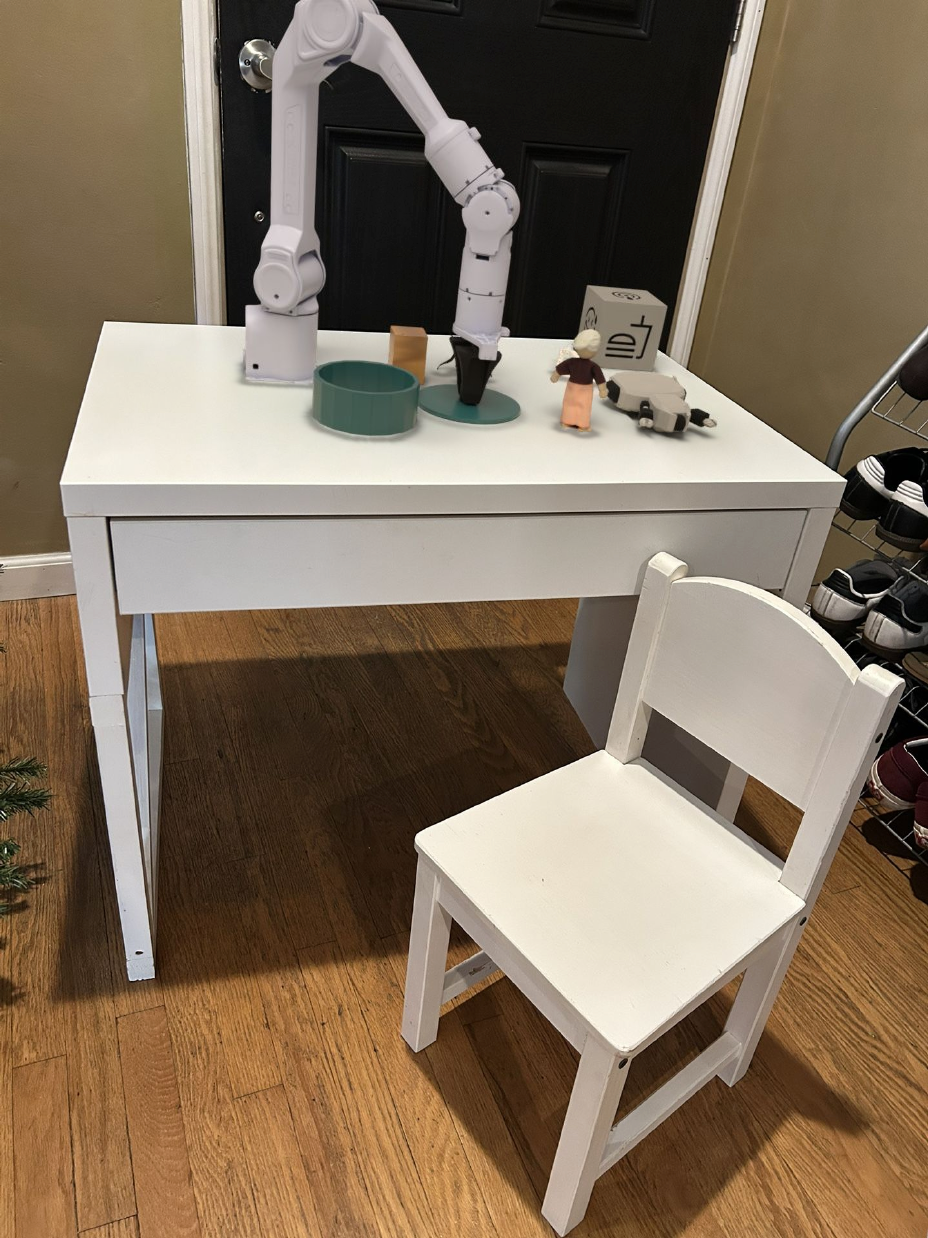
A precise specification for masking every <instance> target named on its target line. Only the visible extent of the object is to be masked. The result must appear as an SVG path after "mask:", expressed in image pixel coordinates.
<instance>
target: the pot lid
mask: <svg viewBox="0 0 928 1238" xmlns="http://www.w3.org/2000/svg"><path fill="white" fill-rule="evenodd" d="M418 408H421V409H422V410H423V411H425V412H427V413H429V414H432V415H434V416H436V417H439V418H442V419H444V420H448V421H449V420H450V421H455V422H460V423H466V424H476V425H493V424H495V425H496V424H502V423H503V424H504V423H507V422H511V421H513V420H515V419H516V418H518V417H519V416H520V414H521V405H520V403H519V402H518V401H517V400H515V398H513V397H511V396H509V395H507V394H505V393H503V392H500V391H497V390H494V389H490V388H487V387H485V390H484V393H483V396H482V398H481V401H480V403H479V404H465V403H463V400H462V389H460V395H459V393H458V387H457V383H444V384H434V385H428V386H426V387H422V388H420V390H419V400H418Z"/></svg>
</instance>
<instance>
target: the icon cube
mask: <svg viewBox="0 0 928 1238" xmlns="http://www.w3.org/2000/svg"><path fill="white" fill-rule="evenodd" d="M667 310H668V305H666V304H665V303H664V302H662V301H661V300H660V299H658V298H657V297H656V296H654V295H653V294H652V293H650V292H649V291H648V290H643V289H634V288H633V289H632V288H622V287H611V286H610V287H609V286H599V285H586V290H585V294H584V300H583V307H582V312H581V317H580V323H579V328H578V334H579V333H580V332H583V331H584V330H588V329H592V330H595V331H597V332H598V333H599V334H600V337H601V339H600V342H601V343H600V344H599V347H598V350H597V353H596V355H595V356H594V357H593V358H591V359H589V360H591V361H593V362H595V363H596V364H598V365H599V366H600V368H601V369H616V370H617V369H618V370H628V371H629V370H630V371H641V372H654V367H655V364H656V360H657V354H658V351H659V346H660V341H661V338H662V334H663V333H662V332H663V328H664V324H665V320H666V315H667Z"/></svg>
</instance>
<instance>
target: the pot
mask: <svg viewBox="0 0 928 1238" xmlns="http://www.w3.org/2000/svg"><path fill="white" fill-rule="evenodd" d="M312 382H313V383H312V400H311V402H312V403H311V415H312V418H313V419H314V420H315V421H316V422H318V423H319V424H320V425H322V426H325V427H327V428H329V429H331V430H334V431H338V432H341V433H342V432H343V433H346V434H351V435H356V436H357V435H358V436H369V437H375V436H379V437H381V436H382V437H383V436H392V435H393V436H394V435H398V434H403V433H406V432H408V431H410V430H412V429H414V427H415V426H416V424H417V421H418V409H419V405H418V400H419V390H421V385H420V381H419V379H418V377H417V376H416V375H414V374H413V373H411V372H410V371H408V370H405V369H402V368H400V367H397V366H393V365H389V364H388V363H385V362H378V361H371V360H360V359H358V360H356V359H353V360H352V359H351V360H350V359H344V360H336V361H335V360H334V361H328V362H325V363H322V364H319V365H317V368H316V369H315V370H314V371H313V381H312Z"/></svg>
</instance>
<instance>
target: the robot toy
mask: <svg viewBox="0 0 928 1238" xmlns="http://www.w3.org/2000/svg"><path fill="white" fill-rule="evenodd" d="M606 392H607V397H606V398H608V399H609V400H610V401H611V402H612V403H613V404H614V405H615V406H616V408H617V409H620V410H622V411H623V412H627V413H630V412H636V413H638V415H637V416H638V418H637V421H638V423H637V424H638V426H640V427H643V428H650V429H651V428H653V429H654V431H655V432H657V433H658V432H659V433H676V432H682V433H685V432H687V430H688V427H689V423H691V424H693V425H695V426H697V427H699V428H704V427H706V428H709V429H712V428H716V427H717V426H718V421H717V420H716V419H715V418H710V413H709V412H707V411H704V410H703V409H700V408H691V407H690V405H689V403H688V402H687V401H686V398H687V391H686V388H684V386H683V385H682V384H681V383H680V382H679V380H678V379H677V376H676V375H674V374H673V375H672V377H671V376H668V375H665V374H661V373H655V372H649V371H638V370H635V371H623V372H622V371H621V372H617V373H615V374H613V375H611V376H609V378H608V380H606Z"/></svg>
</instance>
